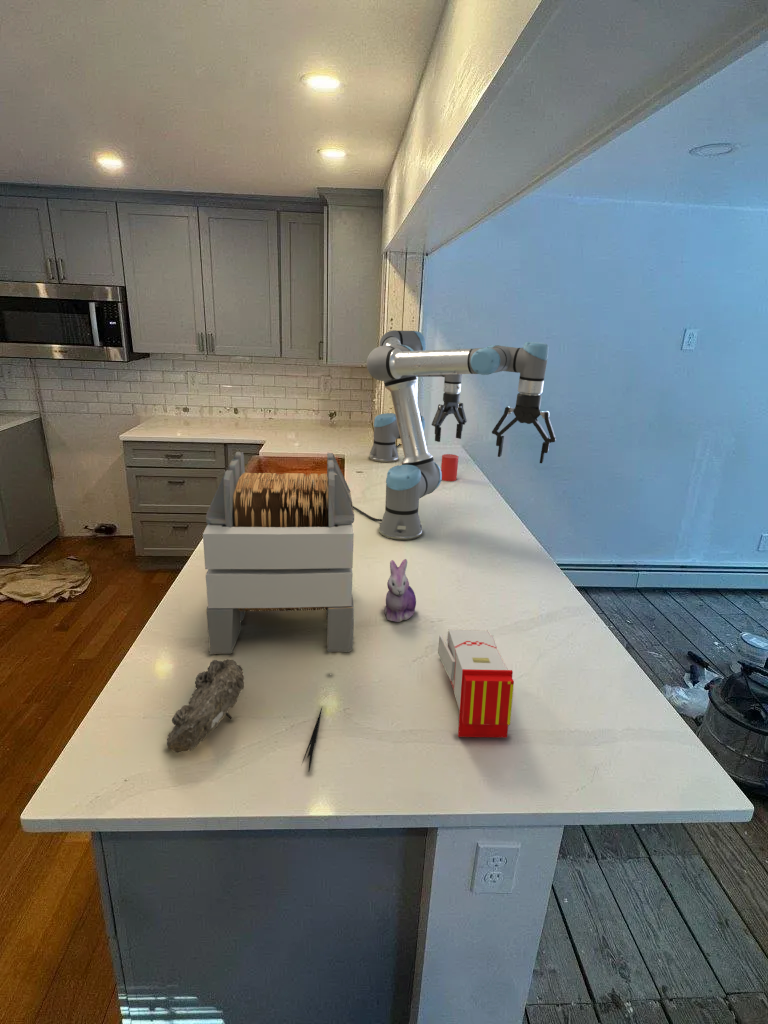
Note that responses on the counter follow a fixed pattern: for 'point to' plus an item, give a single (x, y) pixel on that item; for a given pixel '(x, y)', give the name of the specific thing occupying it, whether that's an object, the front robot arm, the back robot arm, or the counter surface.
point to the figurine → (399, 594)
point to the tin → (449, 467)
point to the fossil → (206, 705)
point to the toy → (478, 682)
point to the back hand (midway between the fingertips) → (448, 439)
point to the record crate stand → (279, 550)
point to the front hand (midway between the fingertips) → (520, 459)
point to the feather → (313, 740)
